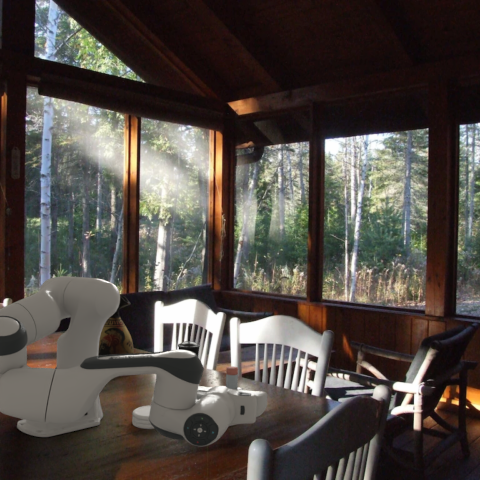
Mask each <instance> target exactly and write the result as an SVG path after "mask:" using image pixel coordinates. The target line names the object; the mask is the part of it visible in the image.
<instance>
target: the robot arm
mask: <svg viewBox="0 0 480 480" xmlns="http://www.w3.org/2000/svg"><path fill="white" fill-rule="evenodd" d="M120 294H121V293H120V291H119V289H118V286H117V285H115V284H114V283H112V282H110V281H108V280H105V279H101V278H95V277H82V276H69V275H68V276H67V275H62V276H57V277H56V276H54V277H51V278H48V279H46V280H45V281H43V283H42V284H41V285H40V287H39V290H38V291H37V292H35V293H33V294H32V295H28V296H27V297H24V298H22V299H19V300H17V301H15V302H13V303H10V304H8V305H6V306H4V307H2V308H0V413H2V414H3V415H7V416H10V417H13V418H16V419H17V418H18V419H21V420H18V421H17V425H16V429H18V430H19V431H21V432H22V433H24V434H27V435H29V436H32V437H33V436H34V437H39V438H49V437H54V436H58V435H62V434H67V433H71V432H74V431H75V432H76V431H79V430H83V429H84V430H85V429H87V428H91V427H96V426H99V425H100V424H101V420H102V419H103V417H104V413H103V409H102V404H101V400H100V393H101V392H102V391H103V389H104V388H105V386H106V385H107V384H108V383H109V382H110V381H112V380H113V379H115V378H118V377H122V376H136V375H138V376H140V375H155V376H156V377H155V382H154V388H153V389H154V390H153V395H152V398H151V403H150V405H151V408H150V414H149V421H150V423H151V425H152V426H153V427H154V428H155V429H154V430H155V431H156V432H158V433H159V435H160V436H163V437H166V438H169V439H172V440H178V441H186V442H187V443H189V444H190V445H192V446H196V447H208V446H210V445H212V444H214V443H216V442H217V441H218V440H219V439H221V437H222V436H223V435H224V434H225V432H226V431H227V429H228V428H229V427H231V426H236V425H248V424H254V423H255V422H256V421H257V418H258V417H259V416H261V415H262V414H263V413H264V412H265V411H266V410H267V407H268V393H267V392H266V391H261V390H248V389H244V387H238V388H237V389H229V388H227V387H226V385H216V386H204V385H202V386H201V385H200V383H201V380H202V378H203V374H204V370H205V368H204V365H203V362H202V361H201V359H200V357H199V355H198V356H197V355H196V354H195V353H194V352H191V351H188V350H179V349H170V350H164V351H155V352H154V351H153V352H136V353H135V352H133V353H131V354H112V355H100V356H98V353H99V340H100V335H101V332H102V329H103V326H104V324H105V323H106V321H107V320H108V319H109V317H111V316H112V315H113V314H114V313H115V312H116V310H117V309H118V307H119V303H120V296H121V295H120ZM66 318H67V319H69V318H70V322H69V325H68V329H67V330H66V331H65V332H64V333H62V334H61V335H59V337H58V339H57V341H56V366H55V367H54V368H52V367H31V366H29V365H27V364H28V361H27V360H28V359H27V358H28V356H27V355H28V350H27V347H28V346H30V345H32V344H34V343H36V342H38V341H39V340H42V339H43V338H45V337H47V336H49V335H52V334H54V333H55V332H56V331H57V330H58V329H59V327H60V324H61V321H62V320H64V319H66Z"/></svg>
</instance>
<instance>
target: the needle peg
mask: <svg viewBox="0 0 480 480" xmlns="http://www.w3.org/2000/svg"><path fill="white" fill-rule="evenodd" d="M225 371H226V373H225V374H226V375H225V386H226V387H227V388H229V389H237V388H239V387H238V386H239V385H238V383H239V367H237V366H233V365H232V366H231V365H230V366H227V367H226V370H225Z"/></svg>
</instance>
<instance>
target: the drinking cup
mask: <svg viewBox="0 0 480 480" xmlns="http://www.w3.org/2000/svg"><path fill="white" fill-rule="evenodd" d="M187 327H188V328H187V329H188V330H187V340H185V341H182V342H180V343H178V344H177V348H178V350H188V351H191V352H194V353H195V354H196V355H197V356H198V357H199V352H200V347H201V344H200V343H198V342H196V341H194V340H191V325H188V326H187Z"/></svg>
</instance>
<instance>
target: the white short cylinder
mask: <svg viewBox="0 0 480 480" xmlns="http://www.w3.org/2000/svg"><path fill="white" fill-rule="evenodd" d="M150 408H151V404H150V405H143V406H142V405H141V406H139V407H137V408H135V409H133V411H132V413H131V415H132V417H131V419H132V420H131V423H132V425H133V426H134V427H136V428H139V429H143V430H144V429H145V430H156V429H155V428H154V427H153V426H152V425H151V423H150V421H149V414H150Z"/></svg>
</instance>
